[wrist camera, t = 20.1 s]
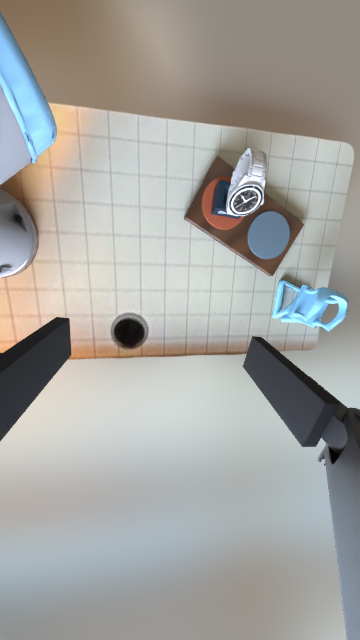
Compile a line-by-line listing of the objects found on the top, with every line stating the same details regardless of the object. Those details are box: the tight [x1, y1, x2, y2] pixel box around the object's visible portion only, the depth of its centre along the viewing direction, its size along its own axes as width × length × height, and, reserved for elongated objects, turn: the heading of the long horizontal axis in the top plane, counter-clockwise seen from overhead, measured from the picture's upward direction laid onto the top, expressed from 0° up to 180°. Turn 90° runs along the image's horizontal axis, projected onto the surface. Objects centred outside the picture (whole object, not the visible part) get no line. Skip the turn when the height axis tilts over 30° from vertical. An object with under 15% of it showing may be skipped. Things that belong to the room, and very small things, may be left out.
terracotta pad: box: [202, 177, 244, 229], centre depth 35 cm, size 9×9×1 cm
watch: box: [211, 148, 267, 219], centre depth 29 cm, size 6×8×11 cm
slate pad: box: [248, 211, 290, 259], centre depth 37 cm, size 9×9×1 cm
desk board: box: [184, 156, 304, 276], centre depth 37 cm, size 22×12×1 cm, turn 61°
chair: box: [272, 280, 348, 331], centre depth 36 cm, size 8×8×12 cm
